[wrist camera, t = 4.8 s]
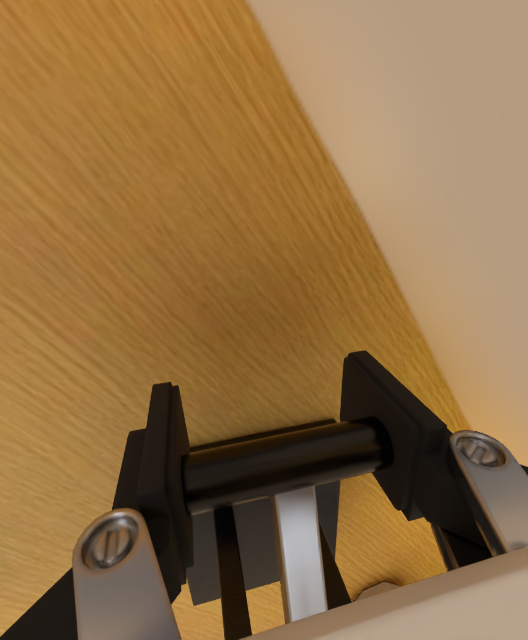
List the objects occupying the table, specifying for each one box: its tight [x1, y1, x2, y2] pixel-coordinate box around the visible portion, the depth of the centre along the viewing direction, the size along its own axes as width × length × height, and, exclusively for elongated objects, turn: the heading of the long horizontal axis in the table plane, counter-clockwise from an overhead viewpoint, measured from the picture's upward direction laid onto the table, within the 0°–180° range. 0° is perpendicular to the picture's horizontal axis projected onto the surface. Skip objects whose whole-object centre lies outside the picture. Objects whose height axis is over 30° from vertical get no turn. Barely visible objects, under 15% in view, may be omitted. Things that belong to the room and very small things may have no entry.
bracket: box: [186, 419, 352, 640], centre depth 13 cm, size 11×9×12 cm
